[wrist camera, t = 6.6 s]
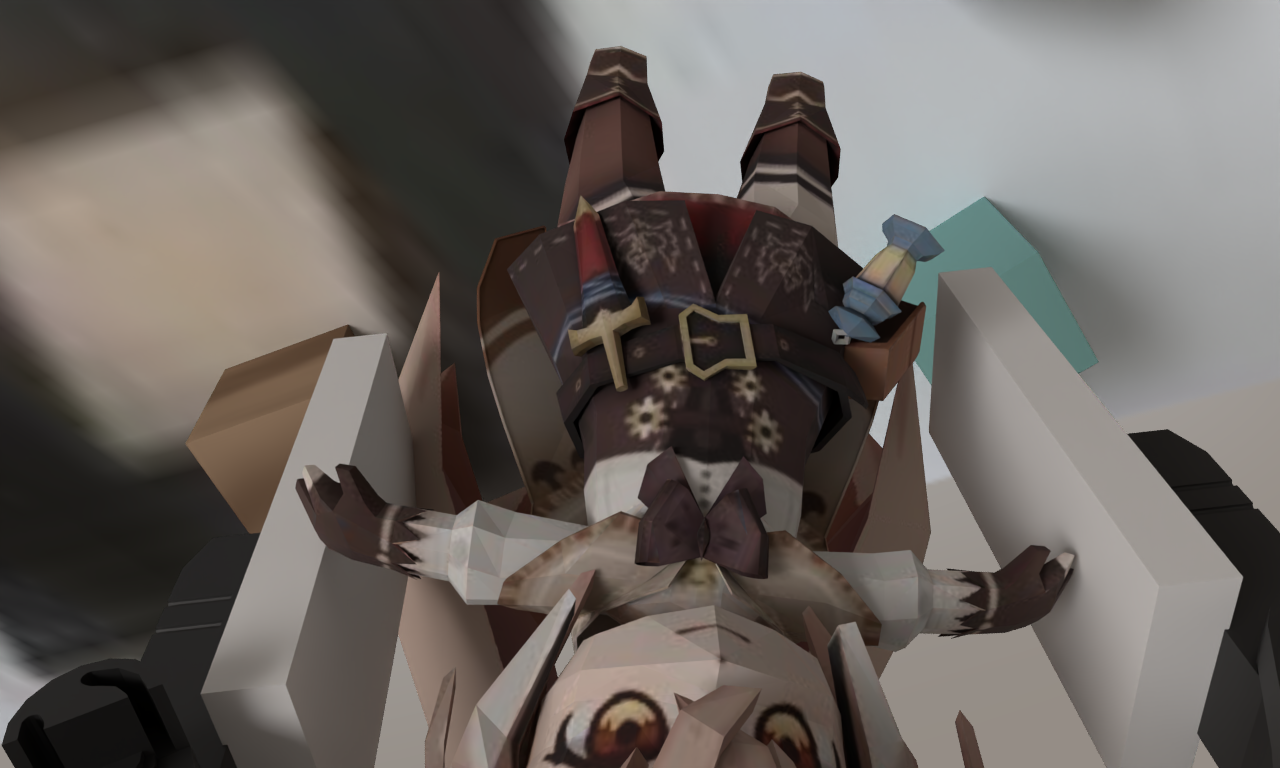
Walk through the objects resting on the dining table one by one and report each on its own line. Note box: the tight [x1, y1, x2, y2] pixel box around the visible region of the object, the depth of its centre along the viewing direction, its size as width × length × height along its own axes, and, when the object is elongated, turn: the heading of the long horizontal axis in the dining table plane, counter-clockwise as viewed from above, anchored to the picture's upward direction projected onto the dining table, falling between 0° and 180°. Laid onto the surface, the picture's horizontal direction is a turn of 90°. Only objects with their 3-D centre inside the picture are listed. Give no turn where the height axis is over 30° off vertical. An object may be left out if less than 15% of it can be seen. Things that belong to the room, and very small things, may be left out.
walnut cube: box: [185, 325, 355, 534], centre depth 38 cm, size 5×5×5 cm
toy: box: [295, 46, 1075, 768], centre depth 13 cm, size 9×8×15 cm
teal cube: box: [901, 197, 1098, 386], centre depth 38 cm, size 5×5×5 cm
